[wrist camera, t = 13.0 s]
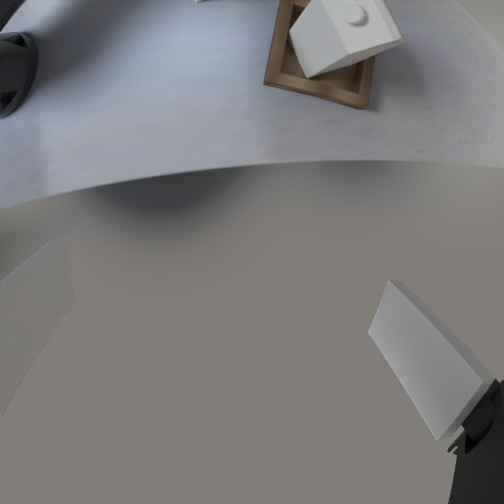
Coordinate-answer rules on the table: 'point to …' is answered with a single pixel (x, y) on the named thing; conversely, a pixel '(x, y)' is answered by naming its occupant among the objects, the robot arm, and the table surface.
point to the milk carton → (342, 34)
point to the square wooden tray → (322, 86)
